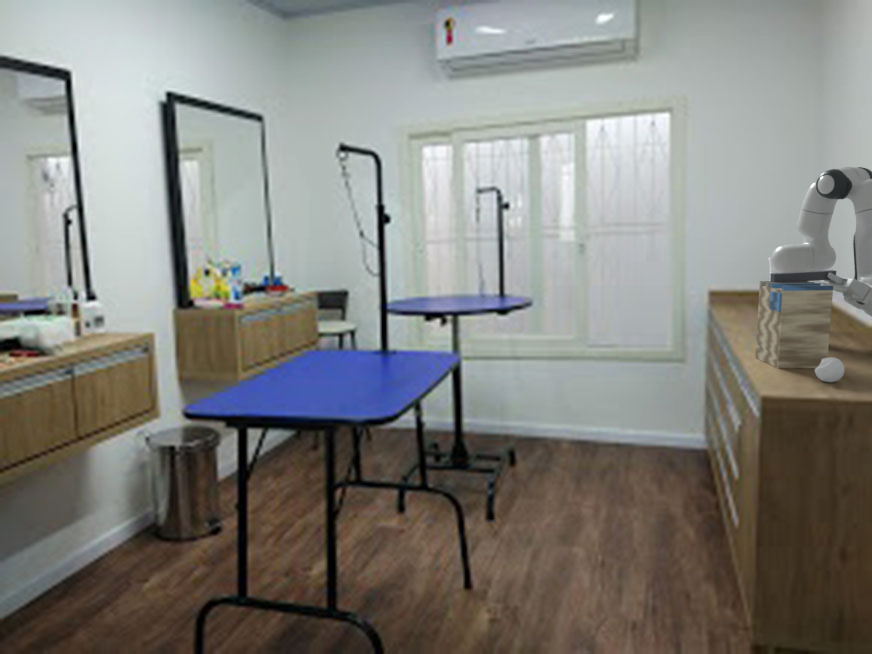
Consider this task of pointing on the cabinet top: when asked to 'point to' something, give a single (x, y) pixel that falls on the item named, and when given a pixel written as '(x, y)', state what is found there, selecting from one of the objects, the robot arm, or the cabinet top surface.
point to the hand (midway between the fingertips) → (824, 273)
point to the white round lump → (830, 369)
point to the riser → (793, 323)
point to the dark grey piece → (800, 276)
